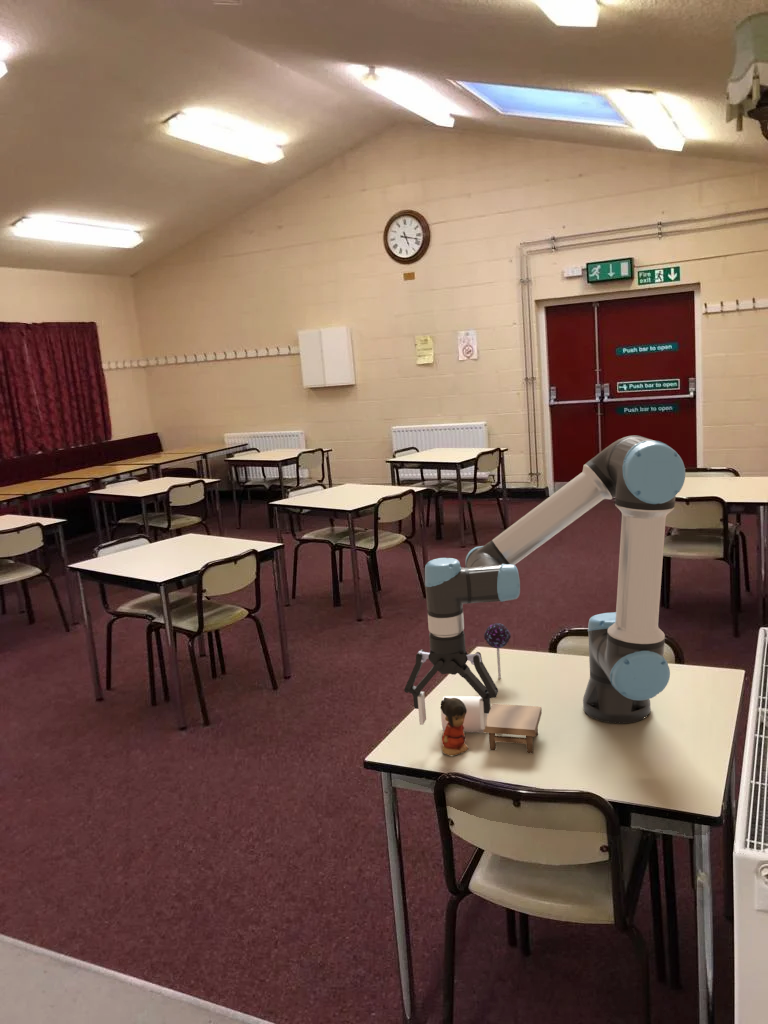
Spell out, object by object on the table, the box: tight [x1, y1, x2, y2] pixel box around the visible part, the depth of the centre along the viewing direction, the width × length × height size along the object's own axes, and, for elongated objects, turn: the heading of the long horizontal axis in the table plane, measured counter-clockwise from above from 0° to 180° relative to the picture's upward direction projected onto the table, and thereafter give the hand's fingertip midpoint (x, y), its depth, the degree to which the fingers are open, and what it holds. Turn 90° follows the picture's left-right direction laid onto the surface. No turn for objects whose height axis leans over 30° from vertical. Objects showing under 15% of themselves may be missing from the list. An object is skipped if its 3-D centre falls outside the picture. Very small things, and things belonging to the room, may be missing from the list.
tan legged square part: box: [483, 703, 542, 755], centre depth 174 cm, size 11×11×6 cm
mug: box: [440, 695, 488, 734], centre depth 183 cm, size 12×10×8 cm
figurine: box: [440, 697, 470, 757], centre depth 172 cm, size 6×6×12 cm
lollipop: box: [483, 622, 512, 679], centre depth 207 cm, size 7×7×15 cm
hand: (453, 724), depth 172 cm, fingers open, 13 cm apart
